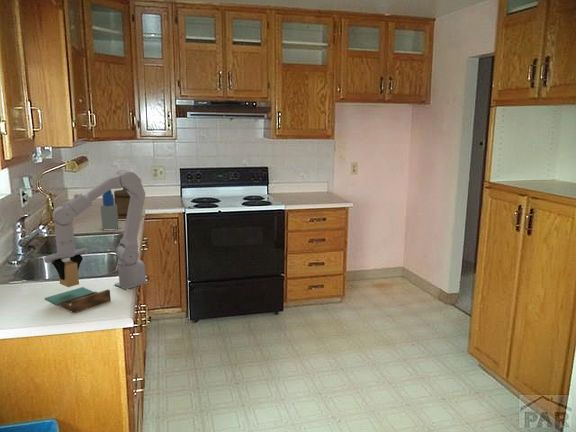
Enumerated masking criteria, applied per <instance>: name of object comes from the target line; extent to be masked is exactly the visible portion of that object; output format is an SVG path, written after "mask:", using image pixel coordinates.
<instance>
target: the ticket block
mask: <svg viewBox="0 0 576 432" xmlns="http://www.w3.org/2000/svg"><path fill="white" fill-rule="evenodd" d="M62 262H65V264H64V274H65V280H61V279H60V277H59V276H58V279H59V285H62V286H65V287H66V288H71V287H75V286H77V285H80V279H79V269H78V267H77V263H76V262H73V261H71V260H70V259H66V260H62Z"/></svg>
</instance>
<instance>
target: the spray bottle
mask: <svg viewBox="0 0 576 432" xmlns="http://www.w3.org/2000/svg"><path fill="white" fill-rule="evenodd" d="M101 197H102V204H100V215H101V216H100V218H101V228H103V229H116V228H118V227H119V220H118V213H117V205H116V204H115V200H114V193H113V191H112V189H111V190H109V191H107V192H106V193H104V194H103V195H101ZM103 229H102V230H103Z"/></svg>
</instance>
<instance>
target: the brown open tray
mask: <svg viewBox="0 0 576 432" xmlns="http://www.w3.org/2000/svg"><path fill="white" fill-rule="evenodd" d="M108 302H109V303H110V302H111V290H110V289H105V290H101V291H93V292H92V293H89V294H86V295H82V296H79V297H76V298H72V299H69V300H66V301H62V302H59V305H58V306H59V307H62V309H65V310H67V311H69V312H71V313H73V314H76V313H78V312H81V311H85V310H87V309H90V308H93V307H96V306H100V305H103V304H106V303H108Z"/></svg>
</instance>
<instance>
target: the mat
mask: <svg viewBox="0 0 576 432" xmlns="http://www.w3.org/2000/svg"><path fill="white" fill-rule="evenodd" d="M92 292H94V291H93V290H90V289H88V288H86V287H83V286H82V287H79V288H75V289H71V290H67V291H65V292H61V293H58V294H54V295H51V296H47V297H44V300H46V301H47V302H50V304H53V305H55V306H60V305H59V302H62V301H66V300H69V299H72V298H76V297H79V296H82V295H86V294H89V293H92Z"/></svg>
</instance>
